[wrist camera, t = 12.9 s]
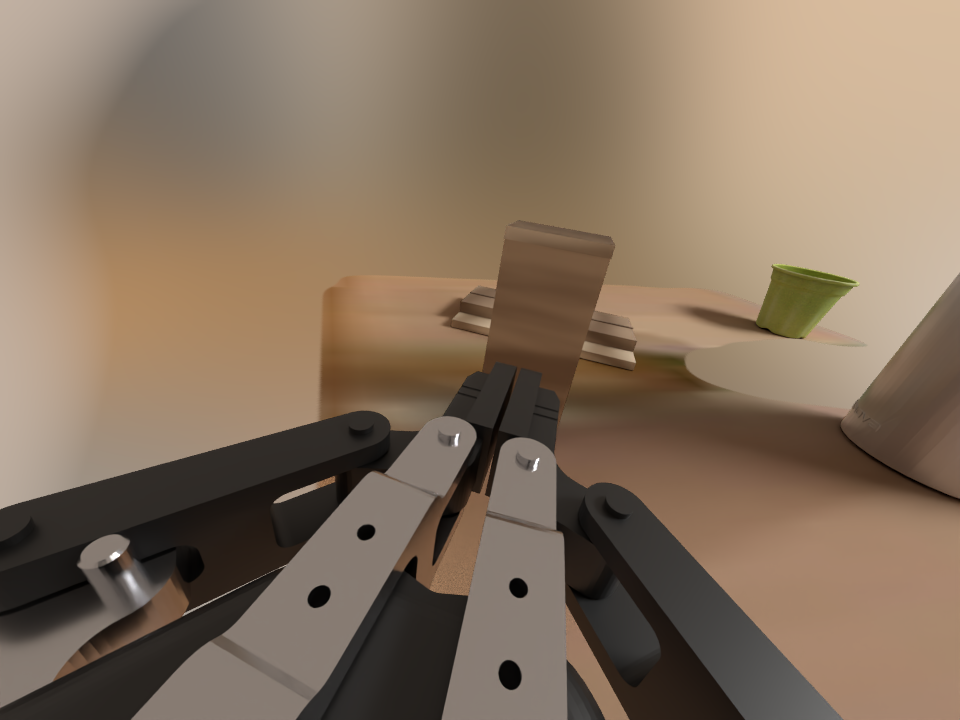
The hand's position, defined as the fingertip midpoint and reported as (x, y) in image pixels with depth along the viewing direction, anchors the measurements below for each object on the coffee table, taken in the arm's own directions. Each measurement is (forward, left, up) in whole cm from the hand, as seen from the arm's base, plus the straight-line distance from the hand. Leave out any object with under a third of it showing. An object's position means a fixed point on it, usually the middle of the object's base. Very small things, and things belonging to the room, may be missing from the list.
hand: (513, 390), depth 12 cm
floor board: (+7, -25, -8) cm, 27 cm away
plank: (+2, -9, -8) cm, 12 cm away
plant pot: (-20, -55, -8) cm, 59 cm away
